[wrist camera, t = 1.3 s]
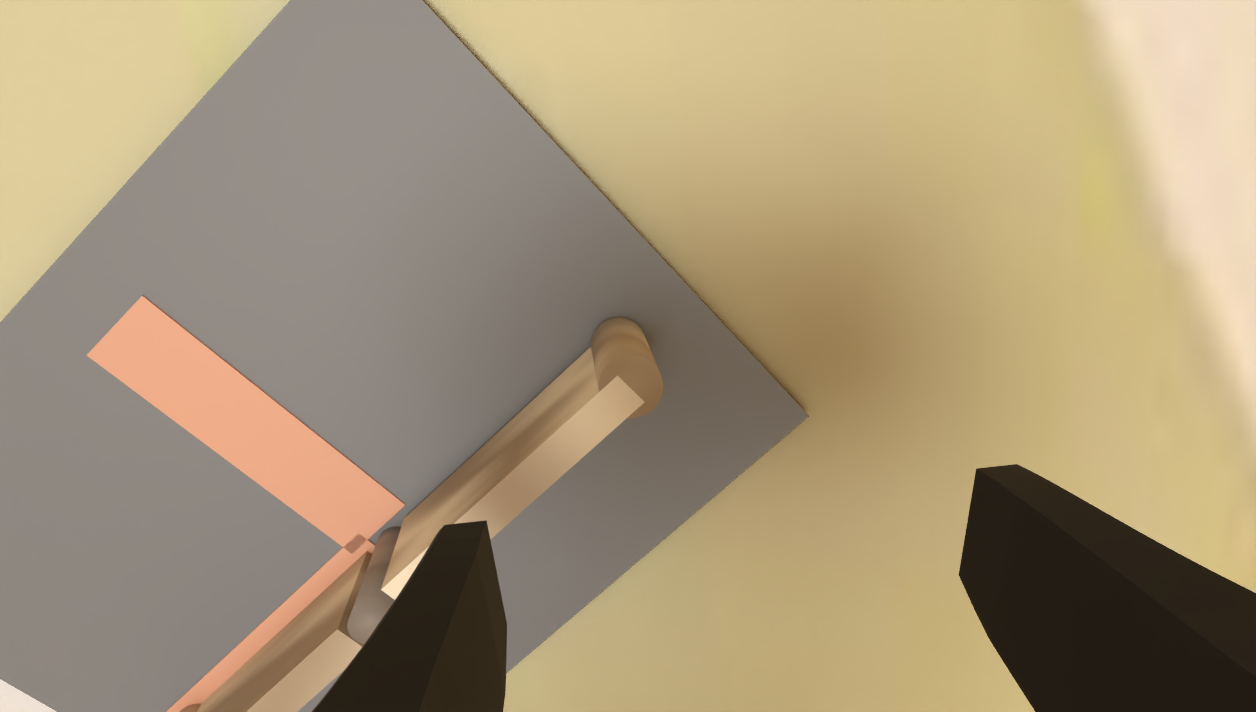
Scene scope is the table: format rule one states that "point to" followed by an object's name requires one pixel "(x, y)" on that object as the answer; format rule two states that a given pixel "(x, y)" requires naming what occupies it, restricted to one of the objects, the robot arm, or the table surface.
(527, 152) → the mat
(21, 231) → the table surface
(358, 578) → the fixed fence section
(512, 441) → the bar
